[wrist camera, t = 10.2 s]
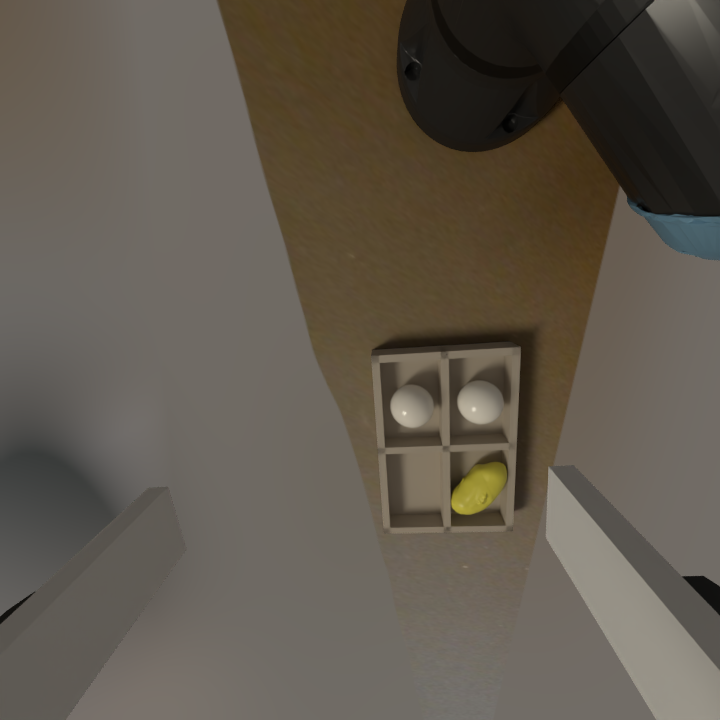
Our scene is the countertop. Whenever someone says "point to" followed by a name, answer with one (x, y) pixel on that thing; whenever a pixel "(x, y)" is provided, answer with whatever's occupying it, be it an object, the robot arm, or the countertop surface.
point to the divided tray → (444, 436)
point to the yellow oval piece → (479, 488)
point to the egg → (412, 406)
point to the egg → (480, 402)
